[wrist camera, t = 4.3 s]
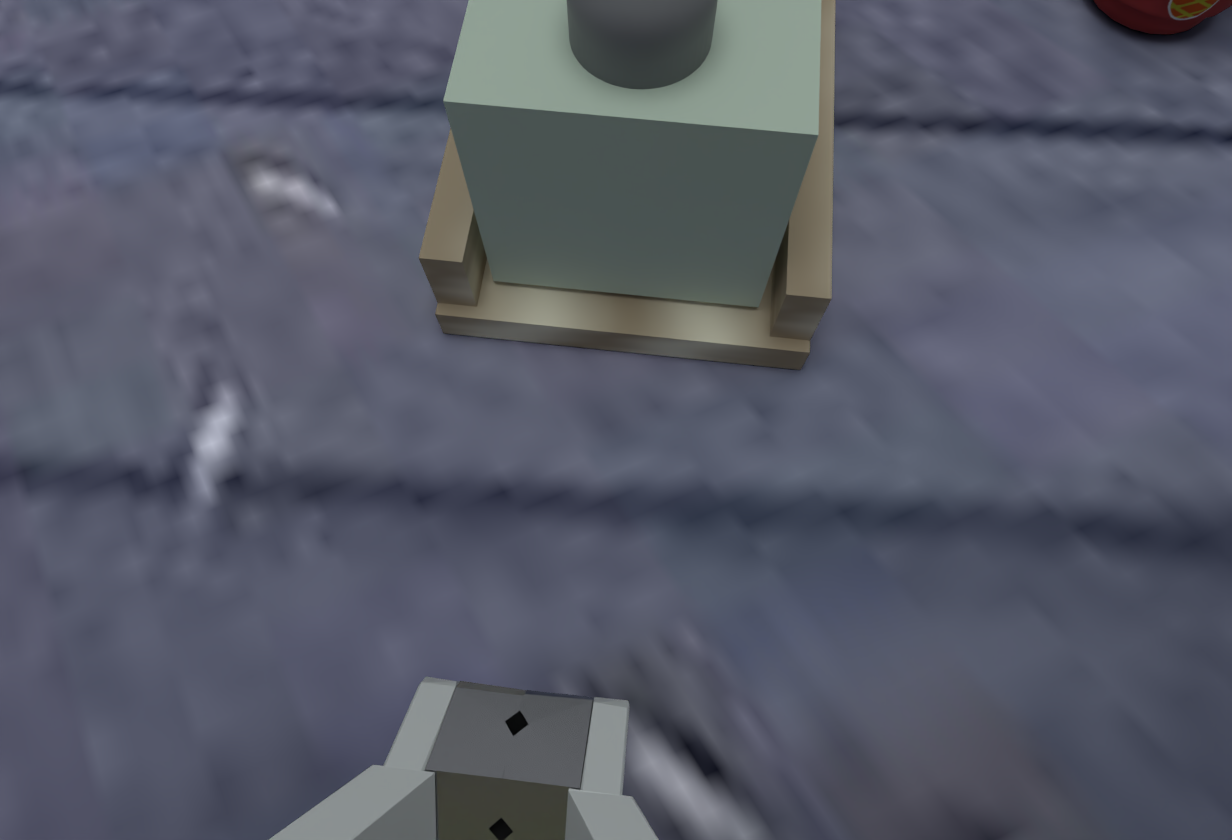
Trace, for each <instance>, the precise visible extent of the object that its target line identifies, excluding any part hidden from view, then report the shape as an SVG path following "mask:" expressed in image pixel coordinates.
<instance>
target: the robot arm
mask: <svg viewBox="0 0 1232 840" xmlns="http://www.w3.org/2000/svg"><path fill="white" fill-rule="evenodd" d="M593 701H594V703H593ZM628 718H629V702H628V700H618V699H608V698H598V697H595V698H594V697H586V696H577V695H568V694H559V693H549V692H540V691H531V690H520V689H513V688H506V687H499V686H492V685H485V684H478V683H471V682H464V681H460V682H458V681H451V680H444V679H438V678H431V677H425V679H424V680H423V681H422V682H421V683H420V684H419V686H418V688H417V691H416V693H415V695H414V697H413V700H412V702H411V704H410V706H409V709H408V711H407V713H406V715H405V718H404V720H403V722H402V724H401V727H400V729H399V731H398V734H397V736H396V738H395V740H394V743H393V745H392V747H391V749H390V752H389V754H388V756H387V758H386V761H385V763H384V765H383V766H379V765H372V766H371V767H369V768H368V769H366V770H365V771H364V772H362V773H361V774H359V775H358V776H357V777H355V778H354V779H352V780H351V781H350V782H348V783H347V784H345V785H344V786H343V787H341V788H340V789H338V790H337V791H336V792H334V793H333V794H332V795H330V796H329V797H327V798H326V799H325V800H323V801H322V802H320V803H319V804H318V805H316V806H315V807H313V808H312V809H311V810H309V811H308V812H306V813H305V814H304V815H302V816H301V817H299V818H298V819H297V820H295V821H294V822H292V823H291V824H290V825H288V826H287V827H286V828H284V829H283V830H281V831H280V832H279V833H277V834H276V835H274V836H273V837H272V838H270V839H269V840H659V839H658V837H657V836H656V834H655V832H654V831H653V829H652V828H651V826H650V824H649V823H648V821H647V819H646V818H645V816H644V814H643V813H642V811H641V809H640V808H639V806H638V805H637V803H636V801H635V800H634V798H633V797H631V796H624V795H622V792H623V780H624V767H625V755H626V743H627V731H628Z"/></svg>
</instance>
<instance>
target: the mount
mask: <svg viewBox="0 0 1232 840" xmlns="http://www.w3.org/2000/svg"><path fill="white" fill-rule="evenodd" d="M834 64H835V0H821V42H820V87H819V132H818V138H817V141H816V143H815V146H814V149H813V152H812V155H811V158H810V161H809V164H808V167H807V169H806V172H805V175H804V178H803V181H802V184H801V187H800V190H799V193H798V195H797V198H796V201H795V204H794V207H793V210H792V213H791V216H790V218H789V221H788V224H787V227H786V230H785V233H784V236H783V239H782V242H781V244H780V247H779V250H778V253H777V256H776V259H775V262H774V265H773V267H772V270H771V273H770V276H769V279H768V282H767V285H766V288H765V291H764V293H763V296H762V299H761V302H760V305H759V307H749V306H739V305H729V304H719V303H709V302H699V301H689V300H679V299H669V298H659V297H649V296H639V295H629V294H619V293H609V292H599V291H589V290H579V289H569V288H559V287H549V286H539V285H529V284H519V283H509V282H499V281H493V277H492V274H491V270H490V267H489V263H488V260H487V256H486V252H485V249H484V245H483V242H482V238H481V234H480V231H479V227H478V224H477V220H476V216H475V213H474V209H473V206H472V202H471V199H470V195H469V191H468V188H467V184H466V181H465V177H464V173H463V170H462V166H461V163H460V159H459V155H458V152H457V148H456V145H455V141H454V138H453V134H452V130H451V128H450V133H449V137H448V141H447V145H446V149H445V153H444V157H443V161H442V165H441V169H440V173H439V177H438V182H437V186H436V190H435V194H434V198H433V202H432V206H431V210H430V214H429V218H428V222H427V226H426V230H425V235H424V239H423V243H422V247H421V251H420V255H419V260H420V262H421V264H422V267H423V269H424V271H425V274H426V276H427V279H428V281H429V283H430V286H431V288H432V290H433V293H434V295H435V297H436V300H437V302H438V304H437V309H436V313H435V315H436V317H437V320H438V322H439V324H440V326H441V328H442V331H443V333H447V334H456V335H466V336H476V337H486V338H495V339H505V340H515V341H524V342H534V343H544V344H553V345H563V346H573V347H583V348H592V349H602V350H612V351H621V352H631V353H641V354H650V355H660V356H670V357H680V358H689V359H699V360H709V361H718V362H728V363H738V364H747V365H757V366H767V367H777V368H786V369H796V370H801V368H802V366H803V364H804V363H805V361H806V359H807V357H808V355H809V353H810V340H811V338H812V336H813V334H814V332H815V330H816V328H817V326H818V324H819V322H820V320H821V318H822V316H823V314H824V312H825V310H826V308H827V307H828V305H829V303H830V301H831V292H832V216H833V140H834Z"/></svg>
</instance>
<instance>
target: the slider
mask: <svg viewBox="0 0 1232 840" xmlns="http://www.w3.org/2000/svg"><path fill="white" fill-rule="evenodd" d="M820 42H821V0H469V2H468V6H467V10H466V14H465V18H464V22H463V26H462V30H461V34H460V38H459V42H458V45H457V49H456V53H455V57H454V61H453V65H452V69H451V73H450V77H449V81H448V85H447V89H446V93H445V97H444V101H443V102H444V105H445V109H446V112H447V116H448V120H449V123H450V127H451V130H452V134H453V138H454V141H455V145H456V148H457V152H458V155H459V159H460V163H461V166H462V170H463V173H464V177H465V181H466V184H467V188H468V191H469V195H470V199H471V202H472V206H473V209H474V213H475V216H476V220H477V224H478V227H479V231H480V234H481V238H482V242H483V245H484V249H485V252H486V256H487V260H488V263H489V267H490V270H491V274H492V277H493V281H499V282H509V283H519V284H529V285H539V286H549V287H559V288H569V289H579V290H589V291H599V292H609V293H619V294H629V295H639V296H649V297H659V298H669V299H679V300H689V301H699V302H709V303H719V304H729V305H739V306H749V307H759V305H760V302H761V299H762V296H763V293H764V291H765V288H766V285H767V282H768V279H769V276H770V273H771V270H772V267H773V265H774V262H775V259H776V256H777V253H778V250H779V247H780V244H781V242H782V239H783V236H784V233H785V230H786V227H787V224H788V221H789V218H790V216H791V213H792V210H793V207H794V204H795V201H796V198H797V195H798V193H799V190H800V187H801V184H802V181H803V178H804V175H805V172H806V169H807V167H808V164H809V161H810V158H811V155H812V152H813V149H814V146H815V143H816V141H817V138H818V132H819V87H820Z"/></svg>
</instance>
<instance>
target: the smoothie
mask: <svg viewBox="0 0 1232 840" xmlns="http://www.w3.org/2000/svg"><path fill="white" fill-rule="evenodd" d="M1094 2H1095V3H1096V5H1097V6H1098V7H1099V9H1101V10H1102V11H1103V12H1104V13H1105V14H1107V15H1108V16H1109V17H1110V18H1111V19H1113V20H1114V21H1116V22H1118V23H1120V24H1122V25H1124V26H1126V27H1128V28H1130V29H1134V30H1138V31H1142V32H1145V33H1149V34H1174V33H1179V32H1183V31H1187V30H1189V29H1191V28H1192V27H1194V26H1195V25H1197V24H1199V23H1200V22H1201V21H1203V20H1204V19H1205V18H1207V17H1212V16H1215V15H1217V14H1218V13H1220V12H1222V11H1223V10H1225V9H1227V8H1228V7H1230V6H1231V5H1232V0H1094Z"/></svg>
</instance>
